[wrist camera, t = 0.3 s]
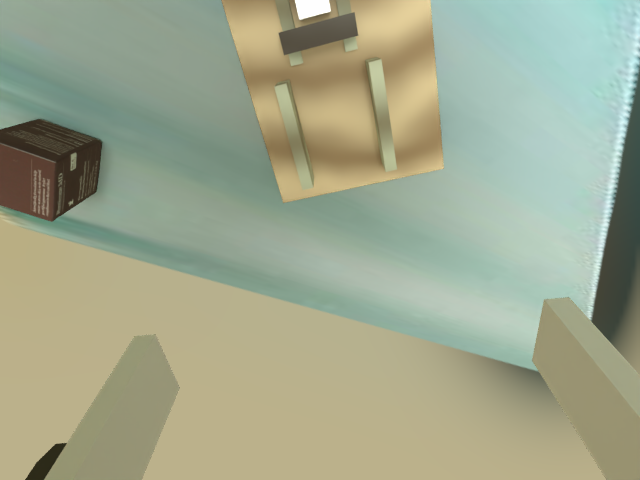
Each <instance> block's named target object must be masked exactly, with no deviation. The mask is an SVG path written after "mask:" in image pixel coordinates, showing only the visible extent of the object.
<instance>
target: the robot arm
mask: <svg viewBox="0 0 640 480" xmlns="http://www.w3.org/2000/svg"><path fill="white" fill-rule="evenodd" d="M532 361H533V363H534V364H535V366H536V367H537V369H538V371H539V372H540V374H541V375H542V377H543V379H544V380H545V382H546V383H547V385H548V387H549V388H550V390H551V391H552V393H553V395H554V396H555V398H556V399H557V401H558V403H559V404H560V406H561V408H562V409H563V411H564V412H565V414H566V416H567V417H568V419H569V420H570V422H571V424H572V425H573V427H574V428H575V429H576V432H577V433H578V435H579V436H580V438H581V440H582V441H583V443H584V444H585V446H586V448H587V449H588V451H589V452H590V454H591V456H592V457H593V459H594V460H595V462H596V463H597V465H598V467H599V469H600V470H601V472H602V473H603V475H604V477H605V478H606V480H640V375H639V374H638V373H637V372H636V371H635V369H634V368H633V367H632V366H631V365H630V364H629V363H628V362H627V361H626V360H625V358H623V356H622V355H621V354H620V353H619V352H618V351H617V350H616V349H615V347H614V346H613V345H612V344H611V343H610V342H609V341H608V340H607V339H606V338H605V336H604V335H603V334H602V333H601V332H600V331H599V330H598V329H597V328H596V327H595V326H594V324H593V323H592V322H591V321H590V320H589V319H588V318H587V317H586V316H585V314H584V313H583V312H582V311H581V310H580V309H579V308H578V307H577V306H576V305H575V303H574V302H573V301H572V300H571V299H570V298H569V297H566V298H555V299H544V303H543V308H542V313H541V318H540V323H539V328H538V333H537V338H536V343H535V348H534V353H533V358H532ZM179 388H180V387H179V385H178V383H177V381H176V379H175V376H174V374H173V372H172V370H171V368H170V365H169V363H168V361H167V359H166V357H165V354H164V352H163V350H162V348H161V346H160V343H159V342H158V339H157V337H156V335H155V334H154V335H144V336H135V337H134V338H133V340H132V341H131V343H130V344H129V346H128V348H127V349H126V351H125V352H124V354H123V355H122V357H121V359H120V360H119V362H118V363H117V365H116V367H115V368H114V370H113V371H112V373H111V374H110V376H109V378H108V379H107V381H106V382H105V384H104V386H103V387H102V389H101V390H100V392H99V394H98V395H97V397H96V398H95V400H94V401H93V403H92V405H91V406H90V408H89V409H88V411H87V413H86V414H85V416H84V417H83V419H82V420H81V422H80V424H79V425H78V427H77V428H76V430H75V432H74V433H73V435H72V436H71V438H70V439H69V441H68V443H62V444H55V445H54V446H53V447H52V448H51V449H50V450H49V451H48V452H47V453H46V454H45V455H44V456H43V457H42V458H41V459H40V460H39V461H38V462H37V463H36V465H35V466H34V467H33V469H32V470H31V472H30V473H29V475H28V477H27V478H26V479H25V480H142V478H143V475H144V473H145V471H146V468H147V466H148V463H149V461H150V459H151V456H152V454H153V451H154V449H155V446H156V444H157V441H158V439H159V437H160V434H161V432H162V429H163V427H164V425H165V422H166V420H167V417H168V415H169V413H170V410H171V407H172V405H173V403H174V401H175V398H176V395H177V393H178V391H179Z"/></svg>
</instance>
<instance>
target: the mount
mask: <svg viewBox="0 0 640 480" xmlns="http://www.w3.org/2000/svg"><path fill="white" fill-rule="evenodd" d="M222 4H223V7H224V10H225V14H226V17H227V20H228V23H229V27H230V30H231V33H232V36H233V40H234V43H235V46H236V49H237V53H238V56H239V59H240V63H241V66H242V69H243V72H244V76H245V79H246V82H247V85H248V89H249V92H250V95H251V98H252V102H253V105H254V108H255V112H256V115H257V118H258V121H259V125H260V128H261V131H262V134H263V138H264V141H265V144H266V147H267V151H268V154H269V157H270V161H271V164H272V167H273V170H274V174H275V177H276V180H277V183H278V187H279V190H280V193H281V196H282V200H283V203H285V202H290V201H295V200H299V199H304V198H309V197H313V196H318V195H323V194H327V193H332V192H337V191H341V190H346V189H351V188H355V187H360V186H365V185H369V184H374V183H379V182H383V181H388V180H393V179H397V178H402V177H407V176H411V175H416V174H421V173H426V172H430V171H435V170H440V169H444V165H443V152H442V140H441V127H440V115H439V102H438V90H437V77H436V65H435V53H434V40H433V28H432V15H431V3H430V0H329V5H330V10H331V12H330V13H327V14H324V15H320V16H316V17H313V18H309V19H305V20H302V21H301V20H299V16H298V12H297V7H296V3H295V0H222Z"/></svg>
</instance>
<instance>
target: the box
mask: <svg viewBox="0 0 640 480" xmlns="http://www.w3.org/2000/svg"><path fill="white" fill-rule="evenodd" d="M101 146H102V143H101V141H100V140H98V139H96V138H93V137H90V136H87V135H84V134H81V133H78V132H75V131H72V130H70V129H67V128H64V127H61V126H59V125H56V124H53V123H51V122H48V121H45V120H41V119H37V120H33V121H30V122H26V123H23V124H19V125H15V126H12V127H8V128H4V129H1V130H0V205H1V206H4V207H8V208H11V209H14V210H17V211H20V212H23V213H26V214H29V215H32V216H36V217H39V218H42V219H45V220H48V221H54V220H55V219H56V218H57V217H59V216H61V215H63V214H64V213H65V212H67V211H68V210H70V209H71V208H73V207H74V206H76V205H77V204H79V203H80V202H82V201H83V200H85V199H86V198H88V197H89V196H91V195H92V194H94V193H95V192H96V188H97V182H98V174H99V166H100V156H101Z"/></svg>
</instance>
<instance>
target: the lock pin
mask: <svg viewBox="0 0 640 480" xmlns="http://www.w3.org/2000/svg"><path fill="white" fill-rule="evenodd" d="M295 3H296V7H297V12H298V16H299V20H301V21H302V20H305V19H309V18H313V17H316V16H320V15H324V14H327V13H330V12H331V10H330V5H329V0H295Z"/></svg>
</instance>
